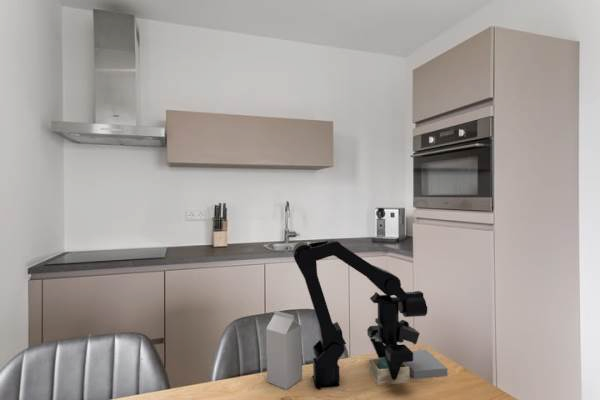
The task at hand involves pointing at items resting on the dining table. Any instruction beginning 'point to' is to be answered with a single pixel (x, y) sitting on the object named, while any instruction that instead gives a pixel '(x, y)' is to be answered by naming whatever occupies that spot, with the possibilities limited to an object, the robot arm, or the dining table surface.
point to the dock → (425, 365)
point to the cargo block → (382, 364)
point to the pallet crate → (388, 373)
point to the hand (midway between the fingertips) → (388, 372)
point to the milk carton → (284, 350)
